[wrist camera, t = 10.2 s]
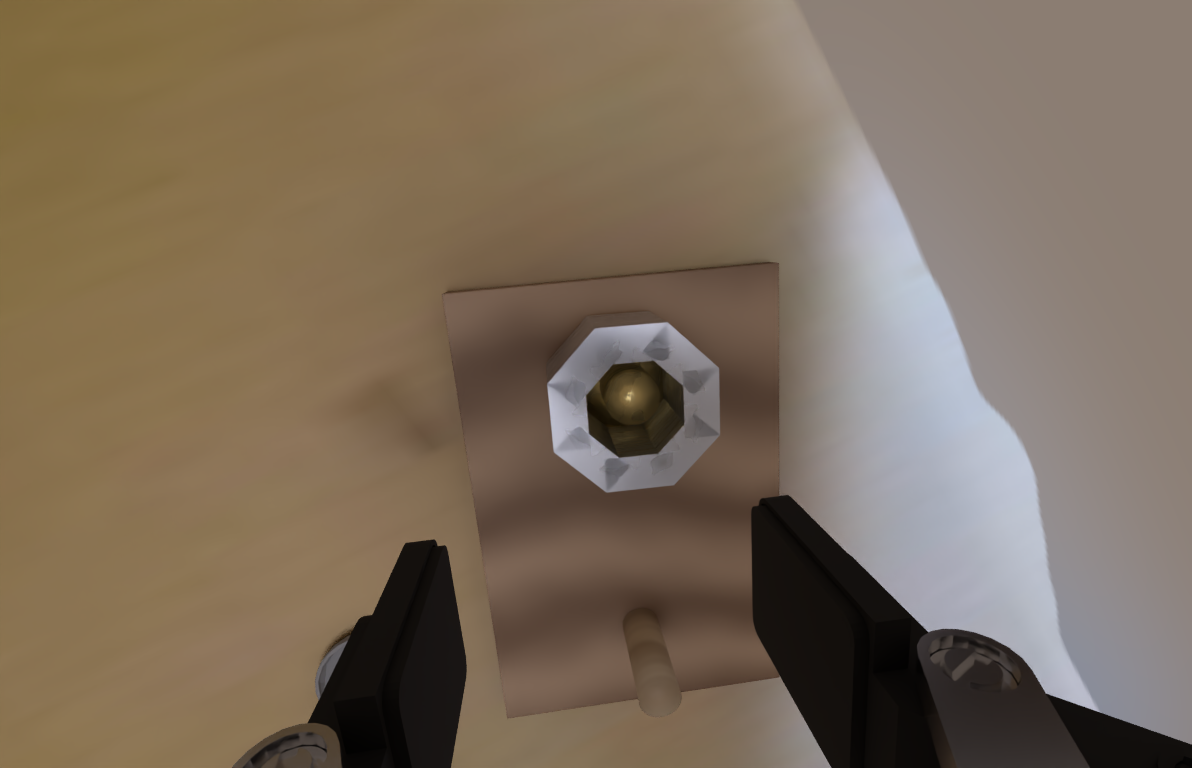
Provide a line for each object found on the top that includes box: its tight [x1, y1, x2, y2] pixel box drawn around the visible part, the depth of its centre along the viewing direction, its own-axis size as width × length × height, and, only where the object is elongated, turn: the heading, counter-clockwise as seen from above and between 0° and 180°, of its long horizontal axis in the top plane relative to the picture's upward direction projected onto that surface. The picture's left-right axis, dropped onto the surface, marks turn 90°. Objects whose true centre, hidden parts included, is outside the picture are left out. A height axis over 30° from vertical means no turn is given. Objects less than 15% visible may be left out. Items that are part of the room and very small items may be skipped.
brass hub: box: [586, 361, 664, 427], centre depth 25 cm, size 7×7×3 cm
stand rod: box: [623, 608, 682, 717], centre depth 28 cm, size 2×2×5 cm
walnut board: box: [442, 262, 779, 718], centre depth 29 cm, size 24×16×1 cm, turn 5°
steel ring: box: [546, 311, 720, 492], centre depth 24 cm, size 7×7×4 cm
